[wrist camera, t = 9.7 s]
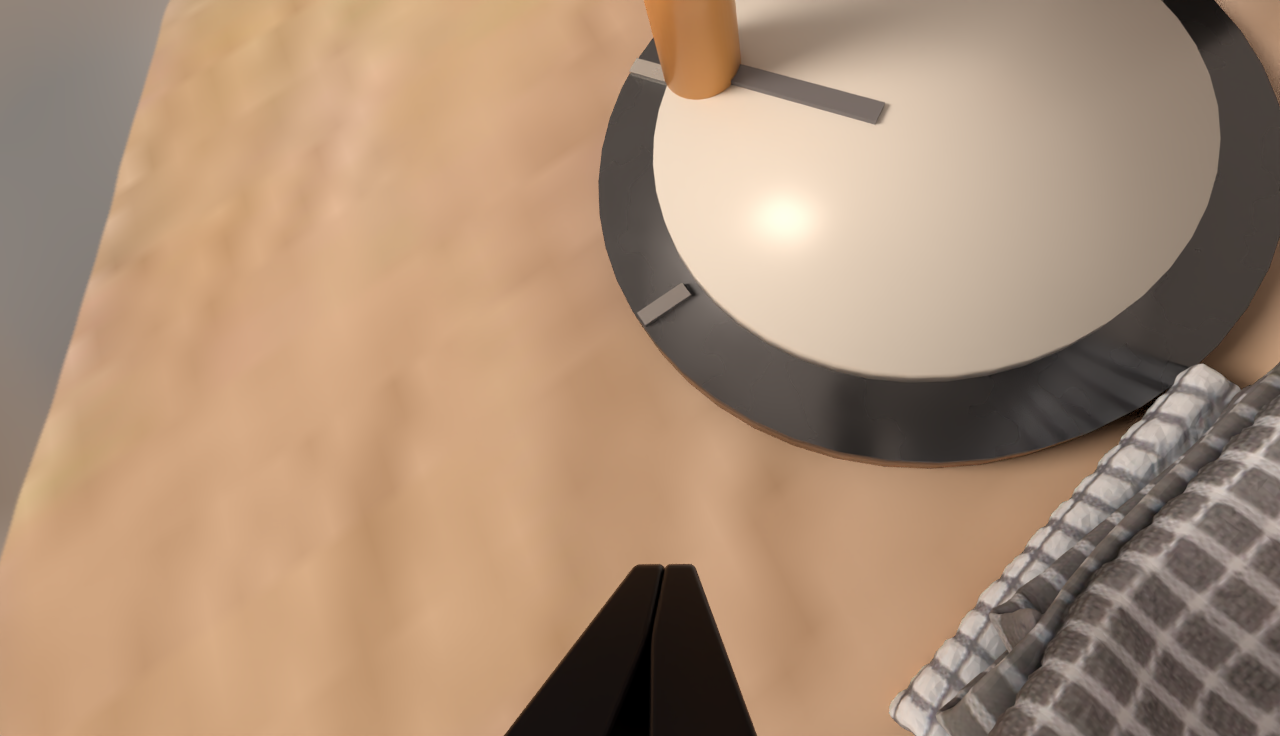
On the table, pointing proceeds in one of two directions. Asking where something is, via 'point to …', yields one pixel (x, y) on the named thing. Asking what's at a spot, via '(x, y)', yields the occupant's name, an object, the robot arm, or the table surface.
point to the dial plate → (982, 406)
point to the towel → (1135, 590)
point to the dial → (929, 171)
